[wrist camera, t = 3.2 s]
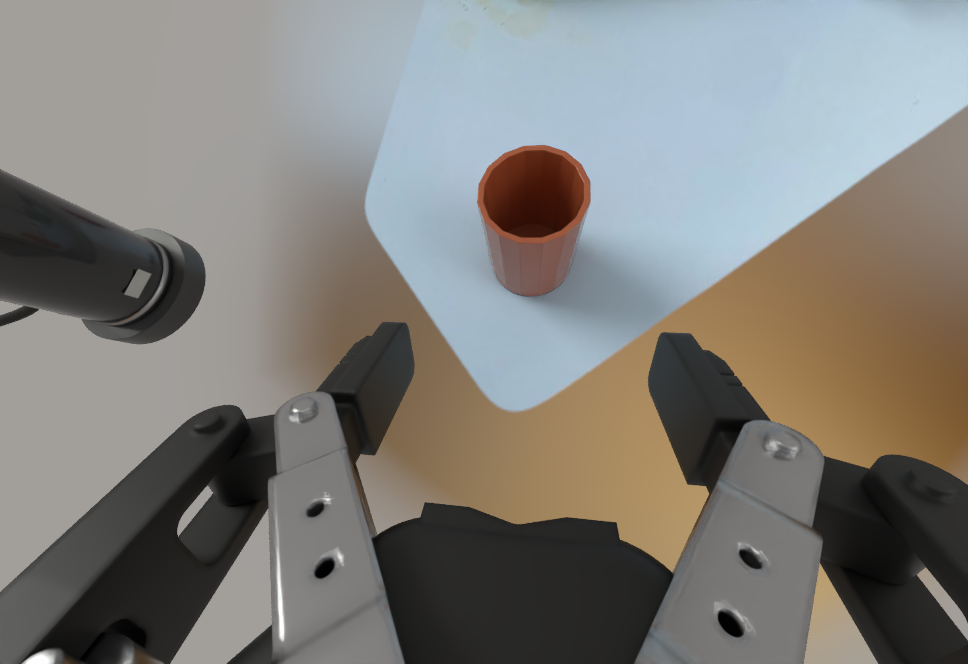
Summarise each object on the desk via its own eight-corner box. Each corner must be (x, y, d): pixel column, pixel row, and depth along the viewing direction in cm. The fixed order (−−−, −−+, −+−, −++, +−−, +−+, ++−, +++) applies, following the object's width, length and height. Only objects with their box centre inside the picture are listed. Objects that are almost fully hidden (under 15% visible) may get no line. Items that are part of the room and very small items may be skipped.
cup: (489, 295, 27) (474, 243, 19) (494, 224, 28) (481, 146, 20) (570, 297, 26) (591, 243, 18) (571, 224, 28) (590, 143, 19)
